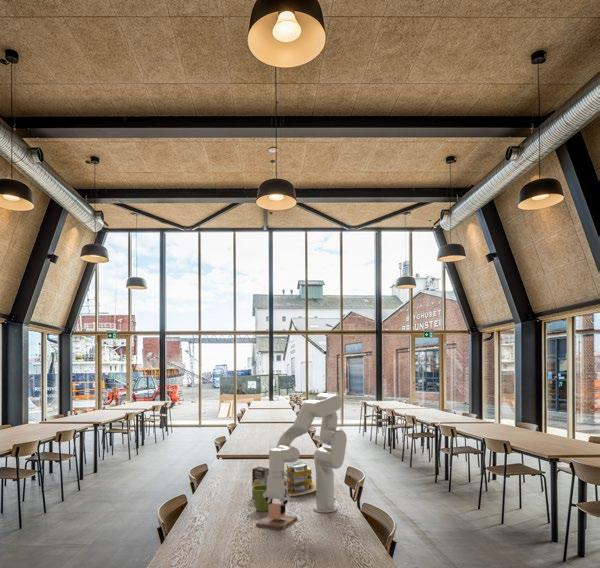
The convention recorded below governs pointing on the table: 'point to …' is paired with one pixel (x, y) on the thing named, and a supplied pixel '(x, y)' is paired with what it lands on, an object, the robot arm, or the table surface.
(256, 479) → the coffee box
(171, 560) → the table surface
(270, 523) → the post board
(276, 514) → the salmon orange cube
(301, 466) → the plate with layered stack
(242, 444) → the table surface
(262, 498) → the plant pot
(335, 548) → the table surface
